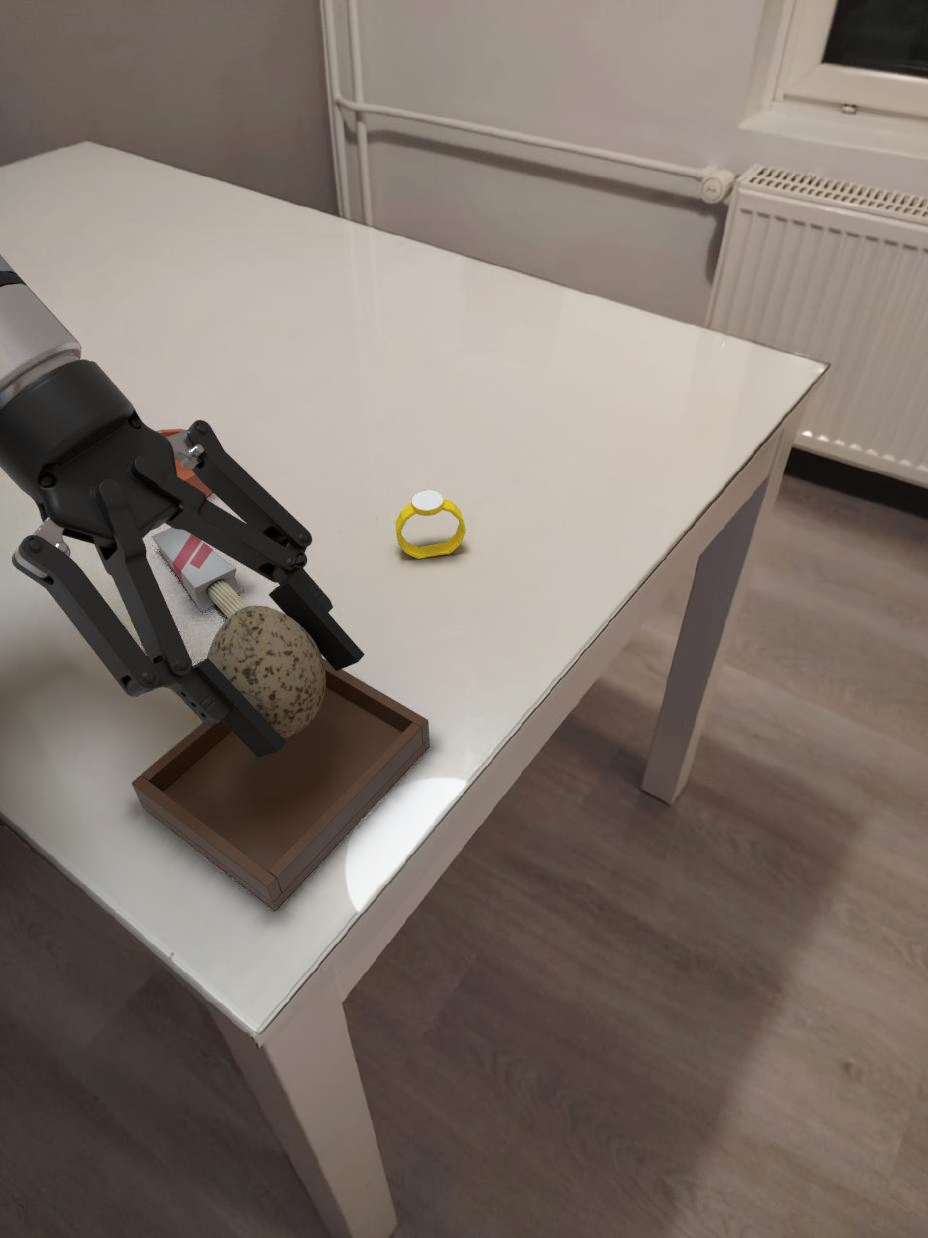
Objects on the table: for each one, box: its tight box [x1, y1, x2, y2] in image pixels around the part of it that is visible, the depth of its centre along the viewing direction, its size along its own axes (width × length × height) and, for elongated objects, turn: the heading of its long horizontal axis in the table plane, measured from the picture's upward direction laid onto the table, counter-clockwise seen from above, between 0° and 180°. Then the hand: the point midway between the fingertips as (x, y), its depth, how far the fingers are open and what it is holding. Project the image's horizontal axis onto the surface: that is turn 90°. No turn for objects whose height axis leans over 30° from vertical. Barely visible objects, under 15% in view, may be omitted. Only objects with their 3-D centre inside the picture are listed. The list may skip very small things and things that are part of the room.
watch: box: [395, 489, 467, 560], centre depth 75 cm, size 6×3×6 cm, turn 100°
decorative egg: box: [206, 605, 326, 739], centre depth 53 cm, size 7×7×10 cm
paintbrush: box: [151, 527, 250, 619], centre depth 72 cm, size 4×3×20 cm
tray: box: [131, 657, 431, 911], centre depth 60 cm, size 16×13×3 cm
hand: (312, 704), depth 52 cm, fingers closed on decorative egg, 7 cm apart
